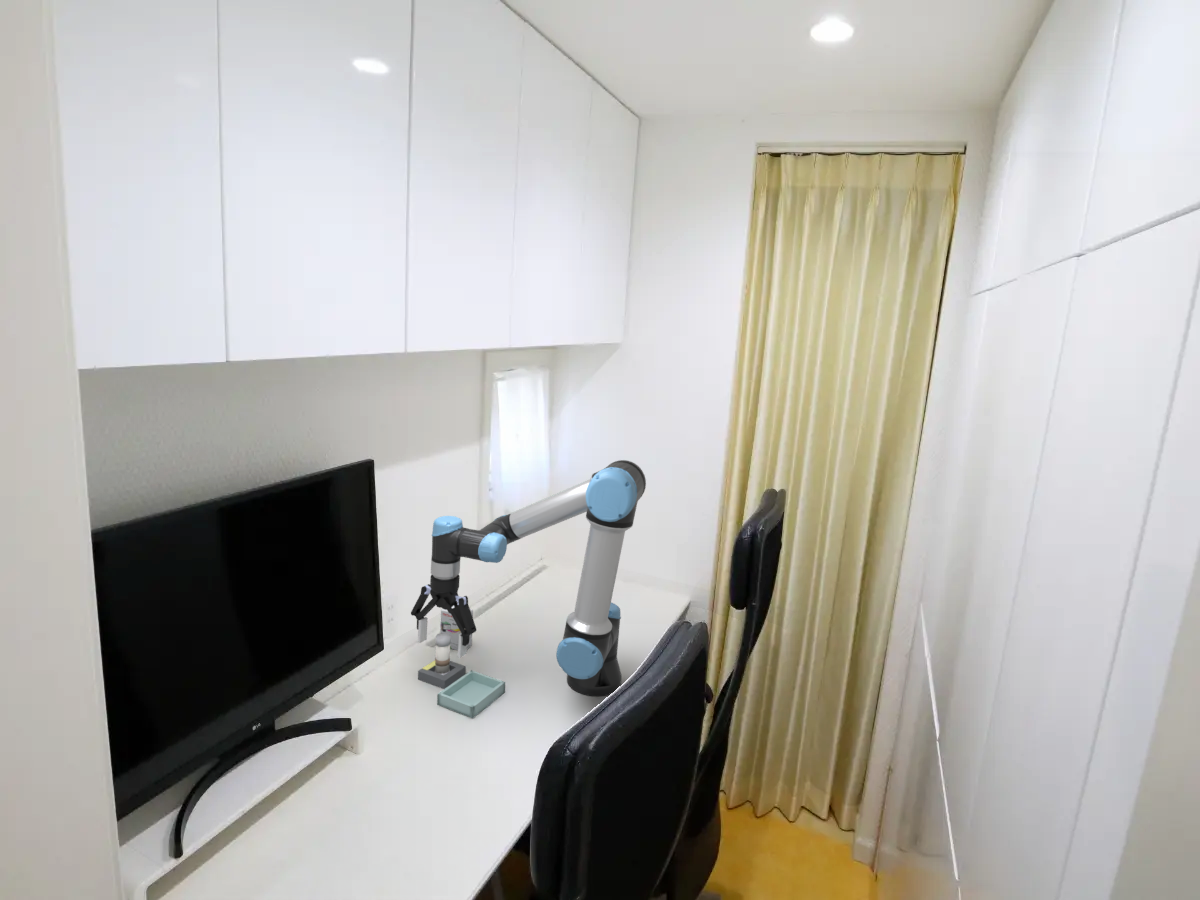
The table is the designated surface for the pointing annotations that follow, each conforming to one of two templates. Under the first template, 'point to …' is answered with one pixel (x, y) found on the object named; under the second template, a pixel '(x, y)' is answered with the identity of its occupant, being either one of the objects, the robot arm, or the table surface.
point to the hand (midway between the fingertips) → (441, 648)
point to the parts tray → (471, 693)
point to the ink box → (452, 628)
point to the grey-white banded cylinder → (442, 653)
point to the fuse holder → (440, 680)
